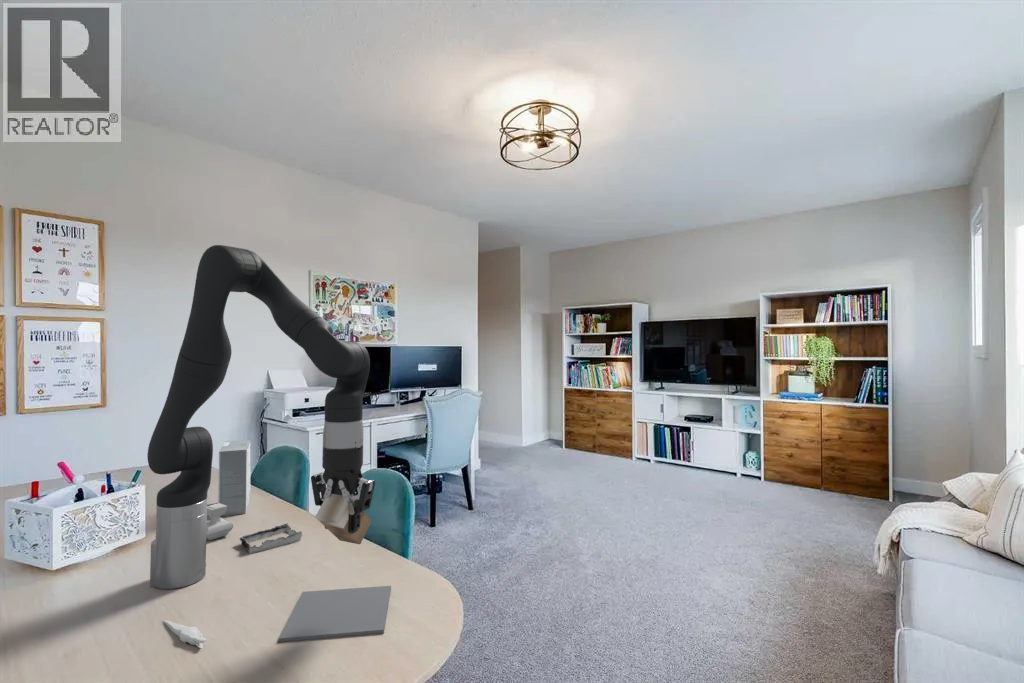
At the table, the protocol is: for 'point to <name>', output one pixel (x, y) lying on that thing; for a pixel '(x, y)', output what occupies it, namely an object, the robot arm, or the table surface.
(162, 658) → the table surface
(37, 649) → the table surface
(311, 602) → the charcoal mat
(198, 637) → the white tapered spike part
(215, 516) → the stamp
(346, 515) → the cream and brown block
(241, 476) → the hard drive box
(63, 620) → the table surface
